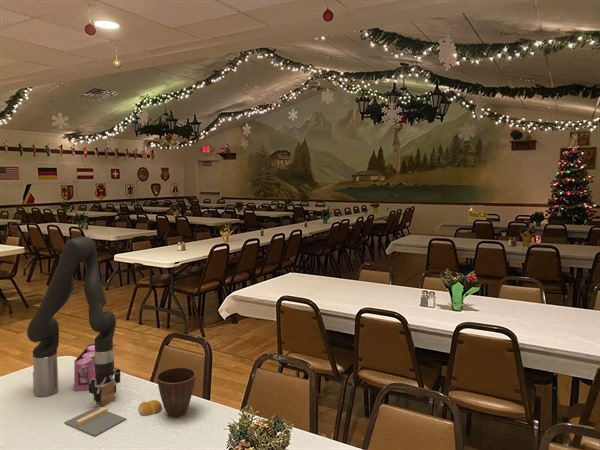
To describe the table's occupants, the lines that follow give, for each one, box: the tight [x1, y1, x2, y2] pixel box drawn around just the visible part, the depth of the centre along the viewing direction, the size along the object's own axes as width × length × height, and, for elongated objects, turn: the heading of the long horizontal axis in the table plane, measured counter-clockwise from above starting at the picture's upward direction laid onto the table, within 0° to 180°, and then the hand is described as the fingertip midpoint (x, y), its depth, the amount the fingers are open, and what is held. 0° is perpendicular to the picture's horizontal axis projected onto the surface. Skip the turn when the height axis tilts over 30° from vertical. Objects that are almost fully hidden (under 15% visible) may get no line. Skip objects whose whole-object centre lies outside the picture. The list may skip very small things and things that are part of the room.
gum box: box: [73, 343, 96, 391], centre depth 212 cm, size 24×8×14 cm, turn 9°
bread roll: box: [137, 399, 163, 416], centre depth 186 cm, size 8×9×4 cm
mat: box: [63, 406, 127, 438], centre depth 176 cm, size 18×14×2 cm
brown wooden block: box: [95, 381, 115, 408], centre depth 191 cm, size 4×6×9 cm, turn 151°
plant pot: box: [156, 367, 196, 418], centre depth 183 cm, size 15×15×16 cm
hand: (105, 397), depth 191 cm, fingers open, 7 cm apart
